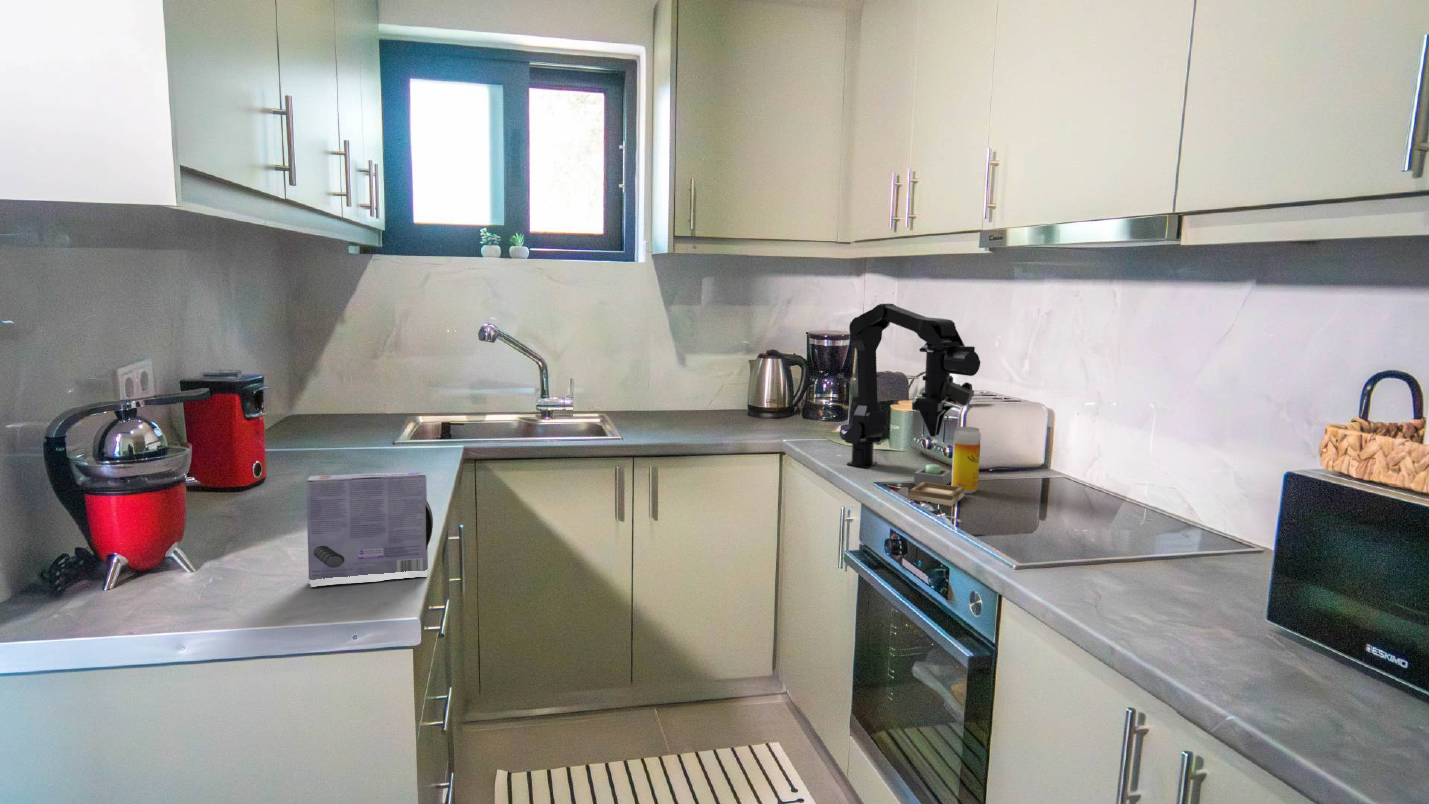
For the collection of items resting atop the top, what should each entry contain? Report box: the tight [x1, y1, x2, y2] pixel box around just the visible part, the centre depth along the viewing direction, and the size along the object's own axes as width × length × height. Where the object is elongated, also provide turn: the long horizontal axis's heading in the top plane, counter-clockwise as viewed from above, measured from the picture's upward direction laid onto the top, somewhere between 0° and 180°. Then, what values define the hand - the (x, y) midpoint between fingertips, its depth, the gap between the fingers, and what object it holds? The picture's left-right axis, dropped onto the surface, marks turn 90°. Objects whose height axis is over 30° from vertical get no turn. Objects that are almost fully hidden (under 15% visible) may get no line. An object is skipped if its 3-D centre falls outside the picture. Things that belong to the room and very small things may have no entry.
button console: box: [913, 467, 952, 486], centre depth 212 cm, size 7×7×3 cm
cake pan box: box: [306, 471, 434, 580], centre depth 142 cm, size 19×5×18 cm, turn 109°
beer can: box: [950, 426, 982, 494], centre depth 204 cm, size 6×6×15 cm
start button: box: [925, 463, 942, 475], centre depth 211 cm, size 4×4×2 cm
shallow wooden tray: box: [907, 482, 965, 507], centre depth 198 cm, size 10×10×2 cm
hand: (934, 435), depth 210 cm, fingers open, 3 cm apart
